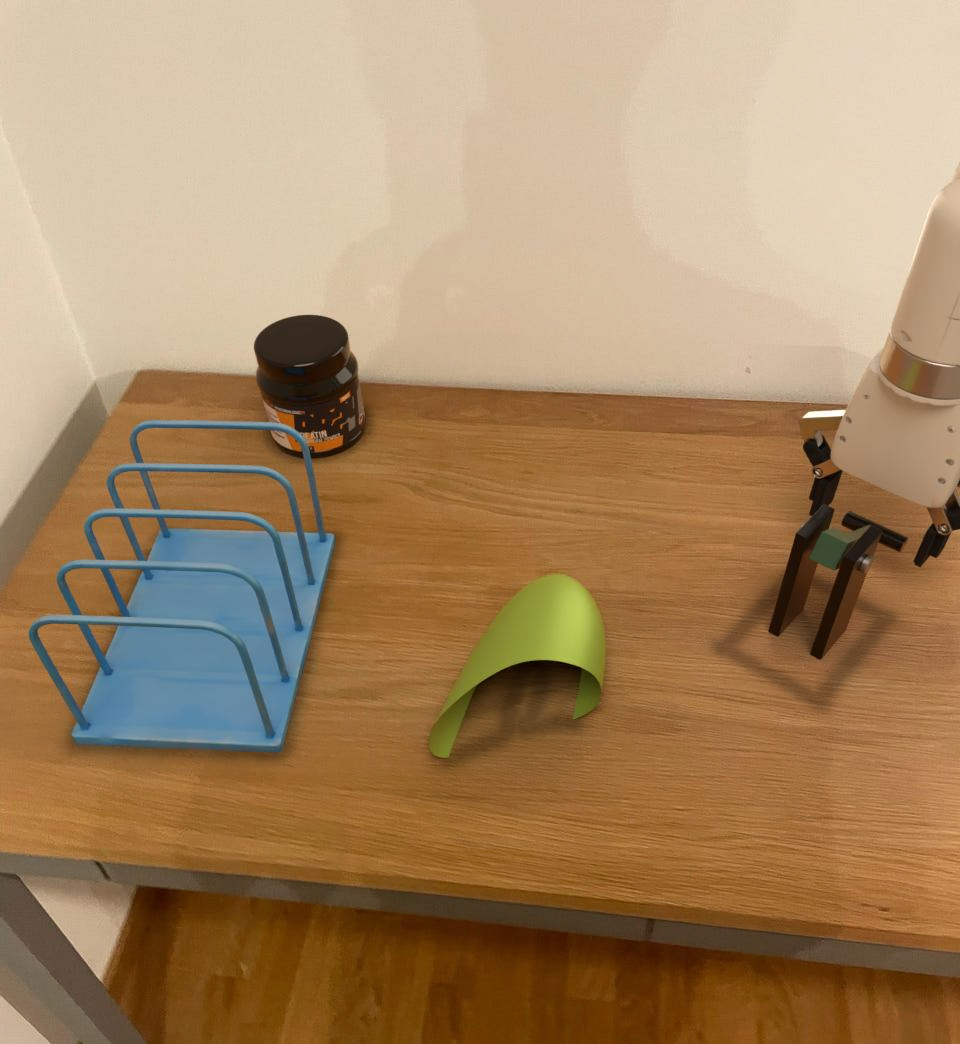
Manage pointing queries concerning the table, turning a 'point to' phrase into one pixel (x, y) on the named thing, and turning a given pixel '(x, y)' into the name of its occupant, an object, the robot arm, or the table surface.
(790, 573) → the bracket
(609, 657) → the table surface
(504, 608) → the curved green shell
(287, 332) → the supplement container
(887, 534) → the lever
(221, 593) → the file sorter
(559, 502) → the table surface
